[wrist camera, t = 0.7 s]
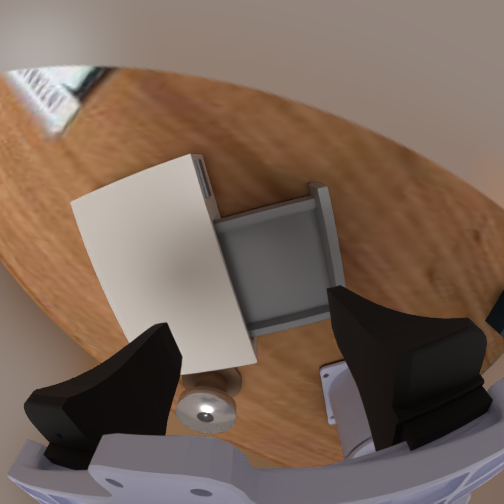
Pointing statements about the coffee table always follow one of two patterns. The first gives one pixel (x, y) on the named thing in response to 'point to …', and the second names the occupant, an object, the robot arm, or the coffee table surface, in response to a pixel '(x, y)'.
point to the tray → (283, 261)
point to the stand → (216, 380)
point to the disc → (206, 409)
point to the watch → (497, 316)
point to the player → (167, 262)
